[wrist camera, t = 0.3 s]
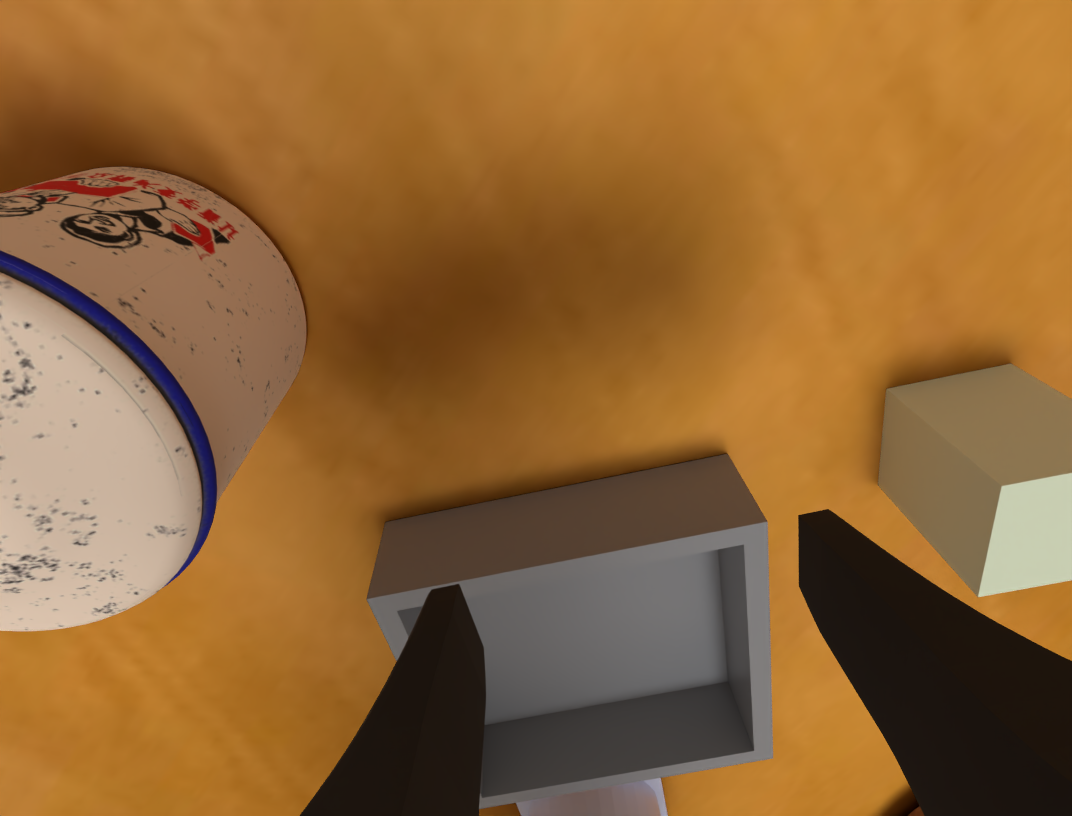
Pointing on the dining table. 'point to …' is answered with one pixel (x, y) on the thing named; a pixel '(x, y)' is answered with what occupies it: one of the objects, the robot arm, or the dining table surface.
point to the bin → (602, 624)
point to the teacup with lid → (127, 383)
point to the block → (984, 474)
